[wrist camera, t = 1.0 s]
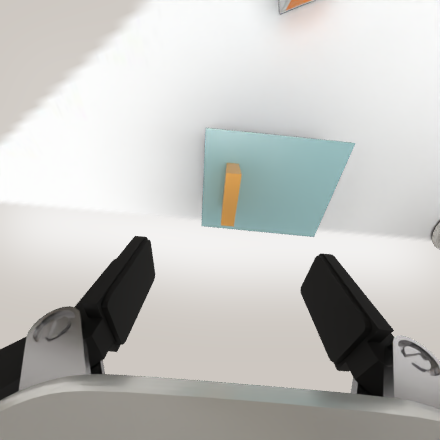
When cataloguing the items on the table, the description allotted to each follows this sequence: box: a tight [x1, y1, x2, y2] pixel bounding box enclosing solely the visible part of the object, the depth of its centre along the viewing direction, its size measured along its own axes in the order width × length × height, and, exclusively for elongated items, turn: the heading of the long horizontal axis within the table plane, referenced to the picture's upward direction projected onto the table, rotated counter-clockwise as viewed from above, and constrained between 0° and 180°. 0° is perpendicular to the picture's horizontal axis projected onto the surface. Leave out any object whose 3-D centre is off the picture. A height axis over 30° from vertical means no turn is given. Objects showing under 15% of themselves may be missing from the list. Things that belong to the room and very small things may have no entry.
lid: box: [202, 128, 355, 237], centre depth 21 cm, size 17×13×6 cm
